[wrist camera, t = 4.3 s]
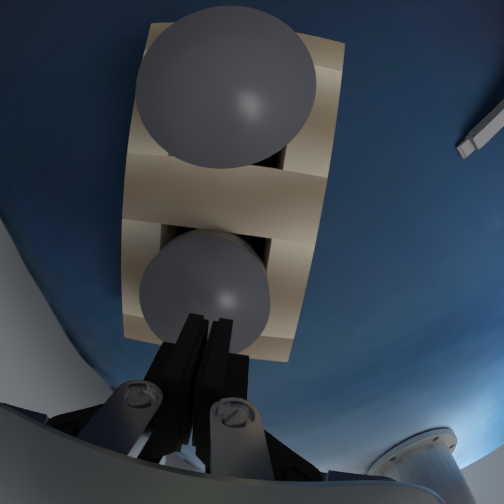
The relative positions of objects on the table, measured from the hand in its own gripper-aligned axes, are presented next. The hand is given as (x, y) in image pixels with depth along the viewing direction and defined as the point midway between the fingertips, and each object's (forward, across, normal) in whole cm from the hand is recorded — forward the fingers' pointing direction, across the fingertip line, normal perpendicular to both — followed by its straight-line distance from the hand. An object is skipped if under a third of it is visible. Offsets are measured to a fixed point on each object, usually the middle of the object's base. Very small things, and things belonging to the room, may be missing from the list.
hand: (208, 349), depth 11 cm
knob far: (+9, +1, -1) cm, 9 cm away
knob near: (+6, +1, -10) cm, 12 cm away
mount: (+9, +1, -5) cm, 10 cm away
